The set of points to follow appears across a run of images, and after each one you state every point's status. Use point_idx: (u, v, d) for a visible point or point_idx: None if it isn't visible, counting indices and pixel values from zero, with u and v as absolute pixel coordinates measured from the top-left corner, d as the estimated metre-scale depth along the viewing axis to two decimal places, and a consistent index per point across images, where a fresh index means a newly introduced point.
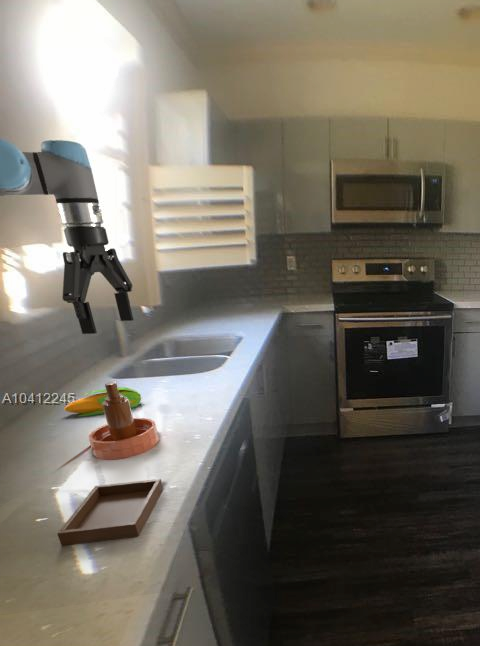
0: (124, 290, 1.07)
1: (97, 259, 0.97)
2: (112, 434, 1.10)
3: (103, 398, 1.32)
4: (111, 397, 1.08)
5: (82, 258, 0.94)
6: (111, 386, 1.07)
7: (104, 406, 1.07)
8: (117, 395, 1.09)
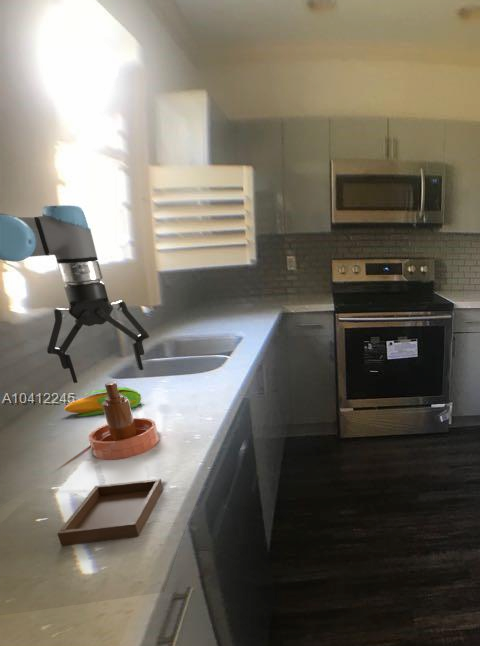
0: (136, 340, 1.08)
1: (86, 314, 1.00)
2: (112, 434, 1.10)
3: (103, 398, 1.32)
4: (111, 397, 1.08)
5: (70, 314, 0.99)
6: (111, 386, 1.07)
7: (104, 406, 1.07)
8: (117, 395, 1.09)
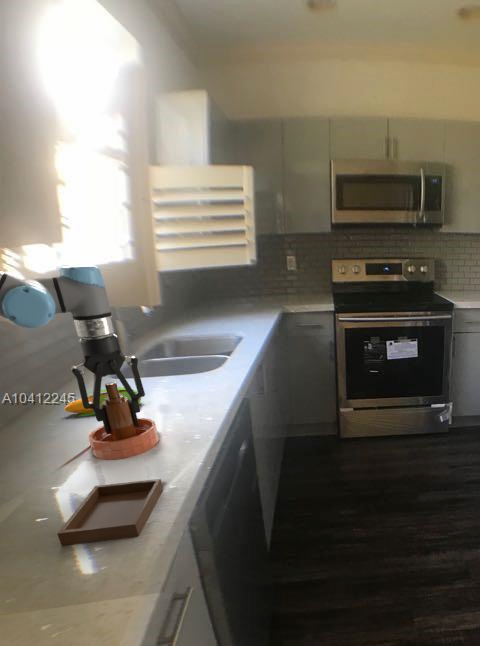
0: (132, 398, 1.11)
1: (100, 367, 1.04)
2: (112, 434, 1.10)
3: (103, 398, 1.32)
4: (111, 397, 1.08)
5: (86, 367, 1.04)
6: (111, 386, 1.07)
7: (104, 406, 1.07)
8: (117, 395, 1.09)
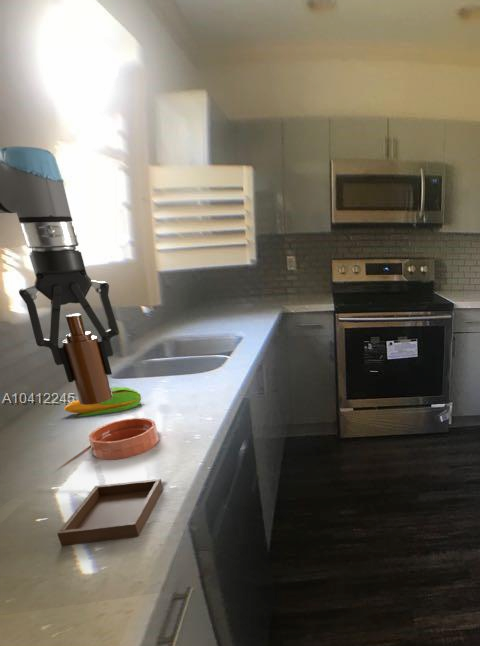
0: (102, 337, 0.86)
1: (58, 290, 0.79)
2: (76, 382, 0.85)
3: None
4: (74, 333, 0.83)
5: (39, 290, 0.79)
6: (74, 318, 0.82)
7: (65, 344, 0.83)
8: (82, 331, 0.84)
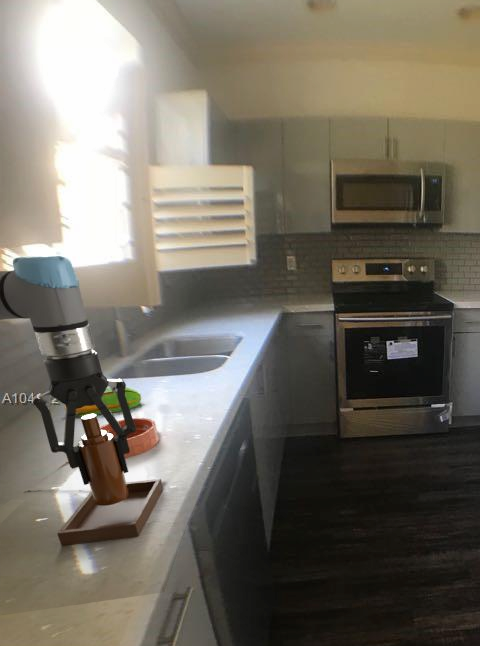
0: None
1: (73, 395, 0.76)
2: (91, 484, 0.82)
3: (103, 398, 1.32)
4: (90, 435, 0.80)
5: (54, 397, 0.75)
6: (89, 421, 0.79)
7: (80, 448, 0.79)
8: (98, 432, 0.80)
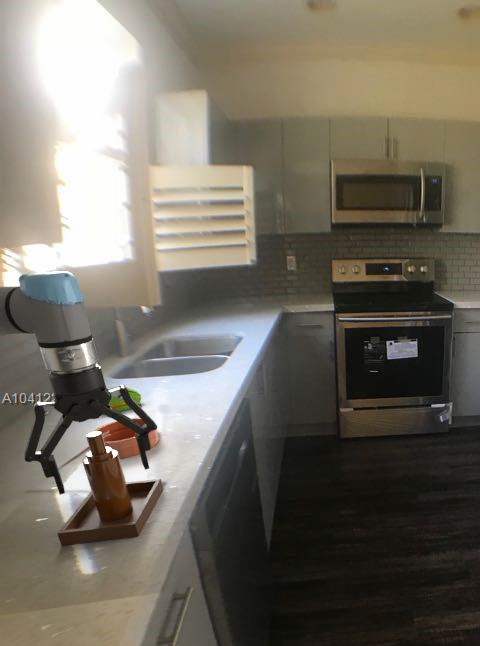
0: (140, 433, 0.85)
1: (77, 409, 0.77)
2: (96, 500, 0.83)
3: None
4: (95, 453, 0.81)
5: (56, 409, 0.76)
6: (95, 438, 0.80)
7: (85, 465, 0.80)
8: (103, 450, 0.82)
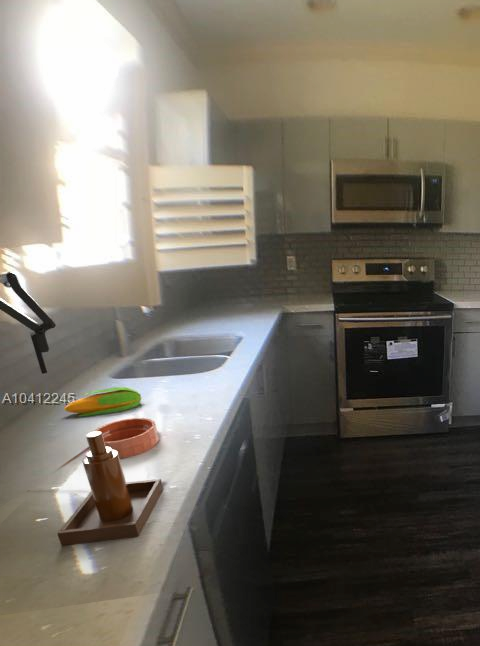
0: (35, 331, 0.75)
1: None
2: (96, 500, 0.83)
3: (103, 398, 1.32)
4: (95, 453, 0.81)
5: None
6: (95, 438, 0.80)
7: (85, 465, 0.80)
8: (103, 450, 0.82)
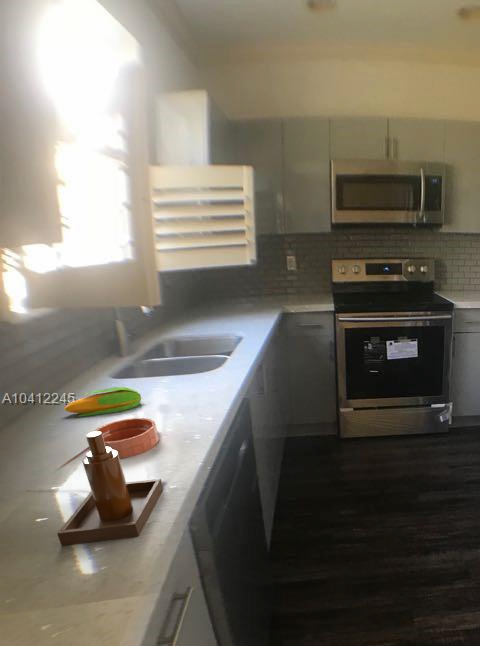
0: None
1: None
2: (96, 500, 0.83)
3: (103, 398, 1.32)
4: (95, 453, 0.81)
5: None
6: (95, 438, 0.80)
7: (85, 465, 0.80)
8: (103, 450, 0.82)
